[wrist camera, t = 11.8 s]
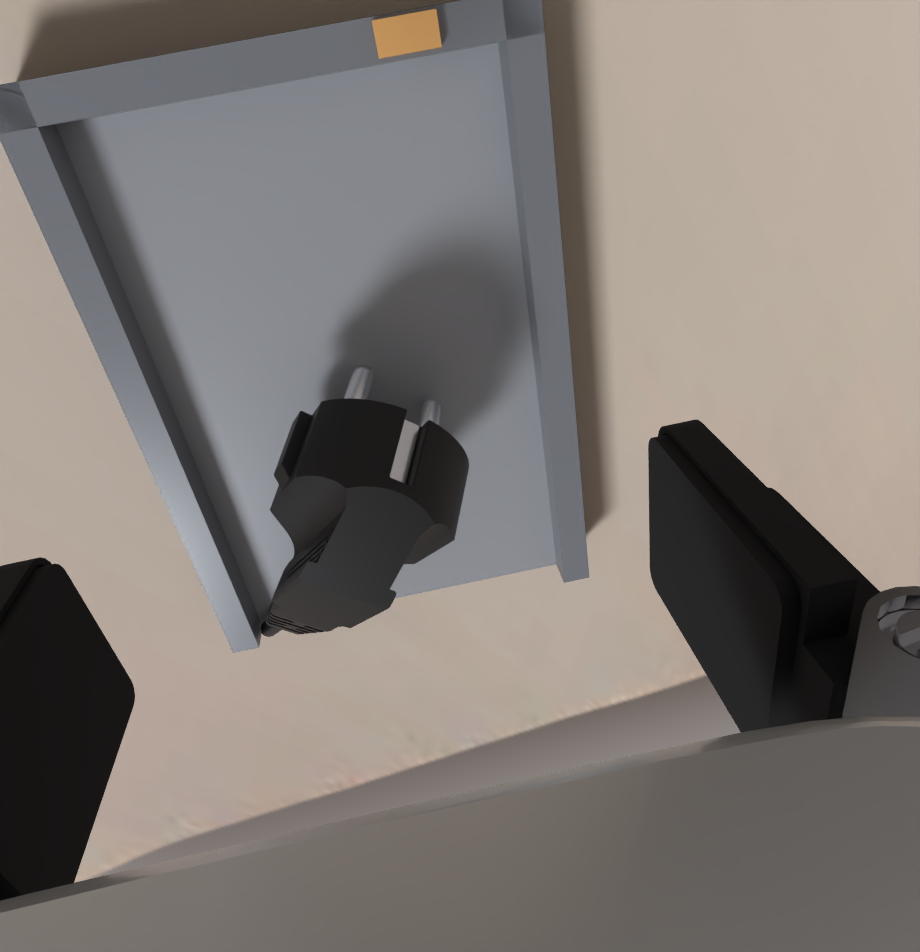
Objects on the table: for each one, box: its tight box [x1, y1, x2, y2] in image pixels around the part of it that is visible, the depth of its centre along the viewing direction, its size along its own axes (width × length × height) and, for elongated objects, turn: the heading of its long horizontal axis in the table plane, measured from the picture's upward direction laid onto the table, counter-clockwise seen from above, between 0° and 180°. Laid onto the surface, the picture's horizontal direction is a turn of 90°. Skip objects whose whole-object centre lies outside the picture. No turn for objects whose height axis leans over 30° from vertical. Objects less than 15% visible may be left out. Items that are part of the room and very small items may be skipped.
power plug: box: [260, 365, 469, 637], centre depth 24 cm, size 6×8×12 cm
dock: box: [0, 0, 589, 653], centre depth 22 cm, size 19×14×2 cm
